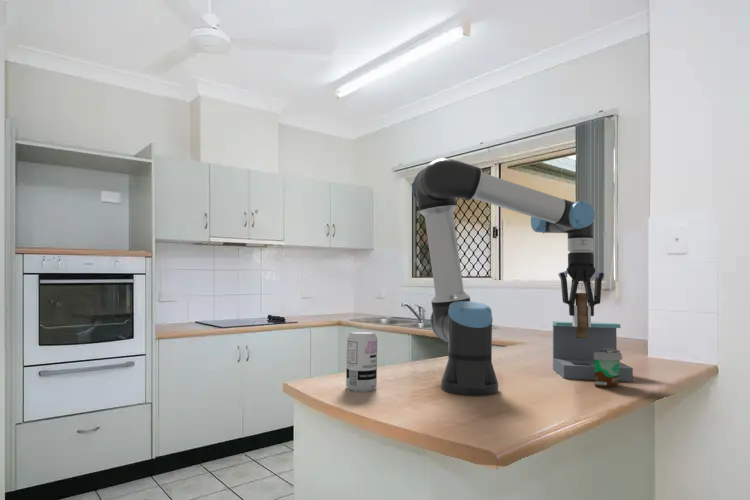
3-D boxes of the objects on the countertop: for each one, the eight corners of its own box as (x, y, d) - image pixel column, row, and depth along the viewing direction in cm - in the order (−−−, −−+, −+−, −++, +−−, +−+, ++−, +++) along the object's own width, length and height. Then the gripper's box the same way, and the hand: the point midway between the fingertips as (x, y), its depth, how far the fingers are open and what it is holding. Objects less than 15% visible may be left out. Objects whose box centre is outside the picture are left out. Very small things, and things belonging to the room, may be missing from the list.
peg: (574, 336, 153) (574, 292, 154) (585, 337, 153) (585, 292, 153) (577, 338, 150) (577, 293, 150) (589, 338, 149) (588, 293, 150)
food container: (617, 391, 132) (617, 354, 133) (593, 387, 136) (593, 352, 136) (626, 383, 142) (626, 349, 142) (603, 380, 146) (603, 347, 146)
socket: (563, 378, 148) (563, 325, 149) (552, 369, 162) (552, 321, 162) (632, 381, 145) (632, 327, 146) (615, 372, 159) (615, 323, 160)
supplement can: (350, 384, 134) (351, 330, 135) (379, 386, 133) (380, 331, 133) (342, 391, 126) (343, 333, 127) (373, 393, 125) (374, 334, 125)
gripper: (556, 251, 150) (557, 327, 149) (612, 251, 148) (613, 328, 147) (550, 252, 157) (551, 324, 156) (603, 252, 155) (604, 325, 154)
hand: (581, 326), depth 151 cm, fingers closed on peg, 3 cm apart
